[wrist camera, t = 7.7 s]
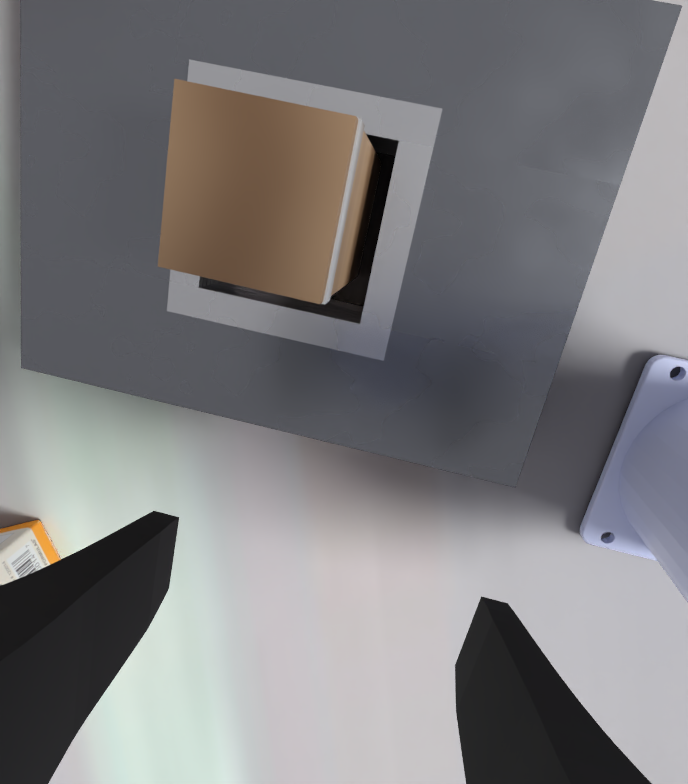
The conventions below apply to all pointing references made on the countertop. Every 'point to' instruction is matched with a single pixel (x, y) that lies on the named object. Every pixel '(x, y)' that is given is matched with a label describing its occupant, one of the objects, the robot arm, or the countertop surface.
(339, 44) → the grey peg hole board
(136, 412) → the countertop surface
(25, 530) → the supplement box
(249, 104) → the key peg
